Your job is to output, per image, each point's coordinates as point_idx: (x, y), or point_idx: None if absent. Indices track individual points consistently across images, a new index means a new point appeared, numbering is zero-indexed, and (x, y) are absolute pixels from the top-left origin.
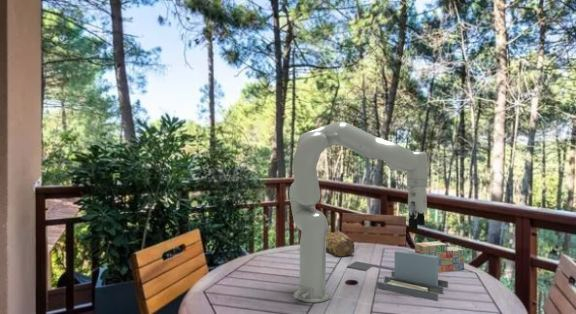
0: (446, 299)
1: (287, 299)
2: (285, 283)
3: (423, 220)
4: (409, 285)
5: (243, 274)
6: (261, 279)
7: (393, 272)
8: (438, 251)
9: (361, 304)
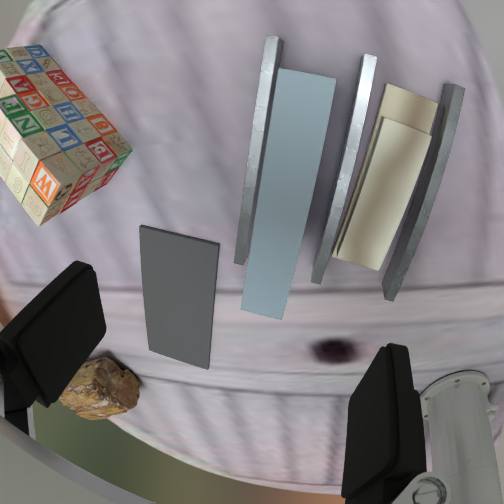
0: (399, 49)
1: None
2: None
3: (60, 304)
4: (378, 190)
5: None
6: None
7: (245, 257)
8: (35, 120)
9: (498, 306)
